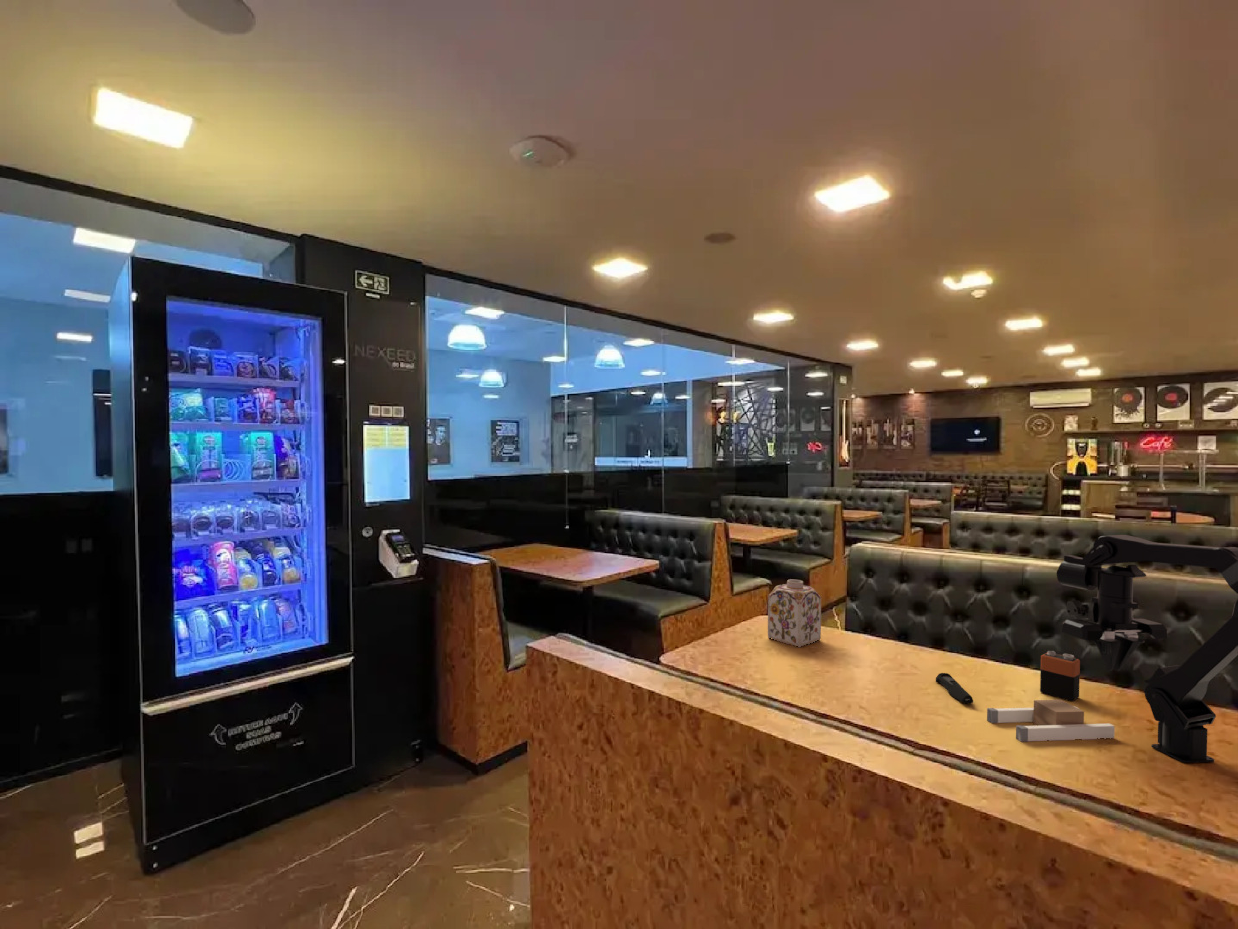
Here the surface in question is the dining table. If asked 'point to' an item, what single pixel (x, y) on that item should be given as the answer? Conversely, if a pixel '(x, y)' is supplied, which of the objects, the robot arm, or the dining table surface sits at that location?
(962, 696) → the electric trimmer
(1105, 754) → the dining table surface
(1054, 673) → the battery
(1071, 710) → the walnut block
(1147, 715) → the dining table surface
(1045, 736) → the chute
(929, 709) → the dining table surface
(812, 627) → the decorative jar
